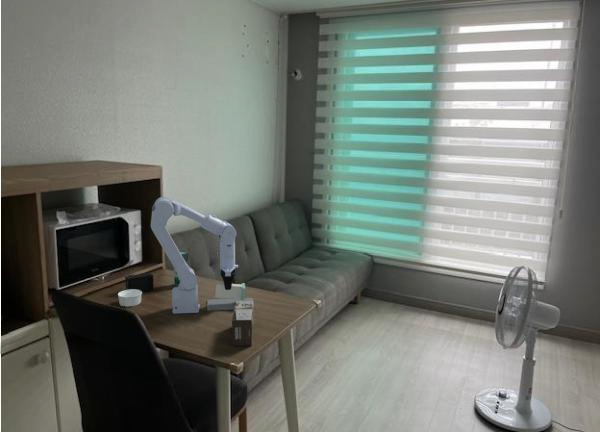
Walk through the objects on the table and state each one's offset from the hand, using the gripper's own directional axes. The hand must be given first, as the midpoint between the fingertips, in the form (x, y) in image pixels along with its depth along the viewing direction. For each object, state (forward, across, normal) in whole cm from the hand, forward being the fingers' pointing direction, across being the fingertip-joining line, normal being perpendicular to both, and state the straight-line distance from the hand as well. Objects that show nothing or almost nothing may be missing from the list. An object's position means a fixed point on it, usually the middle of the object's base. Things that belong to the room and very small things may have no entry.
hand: (228, 288), depth 180 cm
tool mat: (+7, 0, -1) cm, 7 cm away
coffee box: (+2, -19, -6) cm, 20 cm away
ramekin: (+7, +6, +38) cm, 39 cm away
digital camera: (+7, +20, +37) cm, 43 cm away
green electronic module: (+7, +25, +20) cm, 33 cm away
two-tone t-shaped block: (+4, 0, 0) cm, 4 cm away
